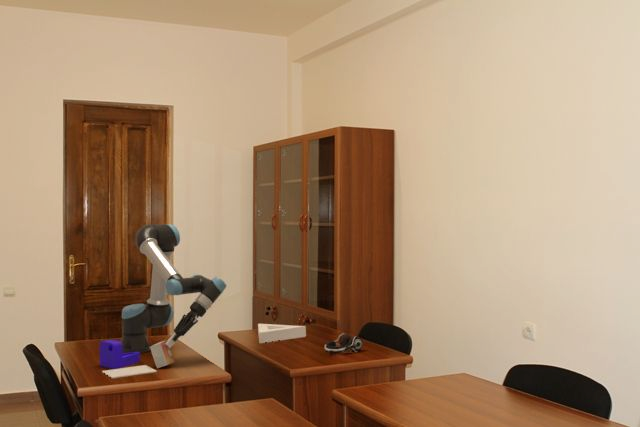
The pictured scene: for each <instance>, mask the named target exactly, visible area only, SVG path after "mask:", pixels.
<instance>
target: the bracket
mask: <svg viewBox="0 0 640 427" xmlns="http://www.w3.org/2000/svg"><path fill="white" fill-rule="evenodd" d="M140 361H141V353H140V352H130V353H123V354H122V343H121V341H119V340H114V339H109V340H103V341H100V342H99V366H100V367H102V366H104V367H103V368H106V367H107V369H110V370H113V369H120V368H126V367H128V366H131V365H133V364H136V363H139V362H140Z"/></svg>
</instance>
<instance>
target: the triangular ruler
mask: <svg viewBox="0 0 640 427" xmlns="http://www.w3.org/2000/svg"><path fill="white" fill-rule="evenodd" d="M257 334H258V342H259V344H265V342H267V343H273V342H279V341H278V340H280V341H285V340H291V339H300V338H305V337H307V326H306V325H288V324H269V323H257ZM272 341H273V342H272Z"/></svg>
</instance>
